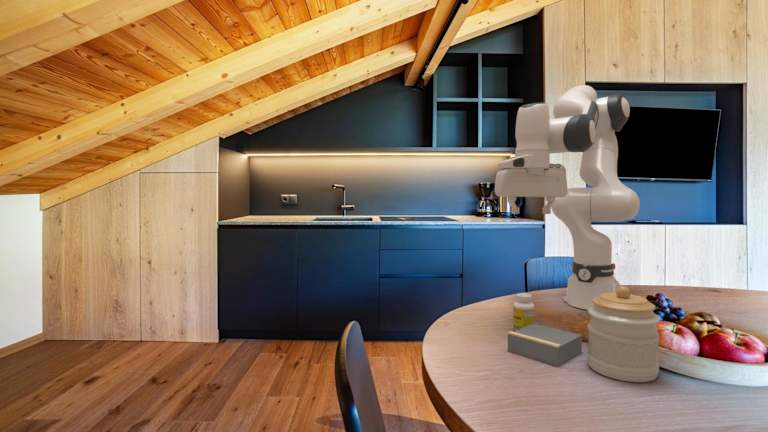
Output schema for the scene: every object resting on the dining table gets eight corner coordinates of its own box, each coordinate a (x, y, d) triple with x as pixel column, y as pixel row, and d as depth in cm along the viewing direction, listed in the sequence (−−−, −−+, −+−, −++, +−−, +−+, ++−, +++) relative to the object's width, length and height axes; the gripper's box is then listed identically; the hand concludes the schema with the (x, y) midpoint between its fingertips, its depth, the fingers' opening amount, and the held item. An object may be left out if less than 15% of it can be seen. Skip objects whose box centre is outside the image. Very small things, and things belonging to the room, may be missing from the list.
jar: (616, 354, 93) (618, 278, 92) (674, 377, 81) (676, 290, 80) (573, 362, 89) (574, 282, 88) (627, 388, 77) (628, 296, 76)
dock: (533, 338, 104) (533, 321, 103) (581, 351, 95) (582, 333, 94) (507, 350, 96) (507, 332, 96) (557, 366, 87) (557, 346, 87)
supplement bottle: (510, 327, 113) (510, 292, 112) (529, 327, 113) (529, 292, 113) (518, 334, 107) (518, 297, 107) (538, 333, 108) (538, 297, 107)
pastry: (590, 345, 100) (590, 329, 99) (563, 338, 105) (563, 323, 105) (606, 336, 106) (606, 322, 105) (580, 330, 111) (580, 316, 111)
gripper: (558, 165, 115) (557, 213, 116) (492, 162, 111) (491, 213, 111) (573, 162, 109) (572, 214, 109) (503, 160, 105) (503, 214, 105)
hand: (531, 213), depth 110 cm, fingers open, 8 cm apart
